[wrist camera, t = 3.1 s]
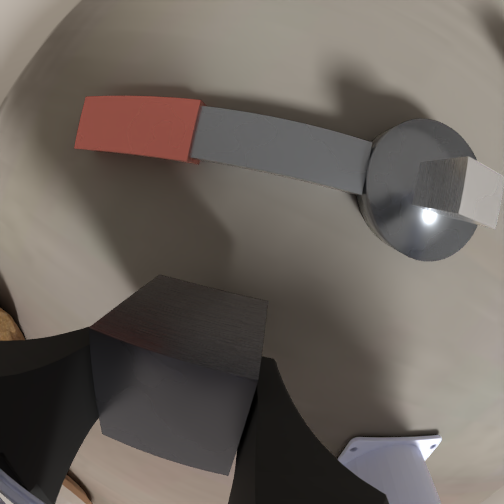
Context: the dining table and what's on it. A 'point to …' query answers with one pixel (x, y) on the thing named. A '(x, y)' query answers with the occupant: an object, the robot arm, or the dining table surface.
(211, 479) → the dining table surface
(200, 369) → the dark grey textured cube
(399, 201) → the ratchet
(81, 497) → the bowl
